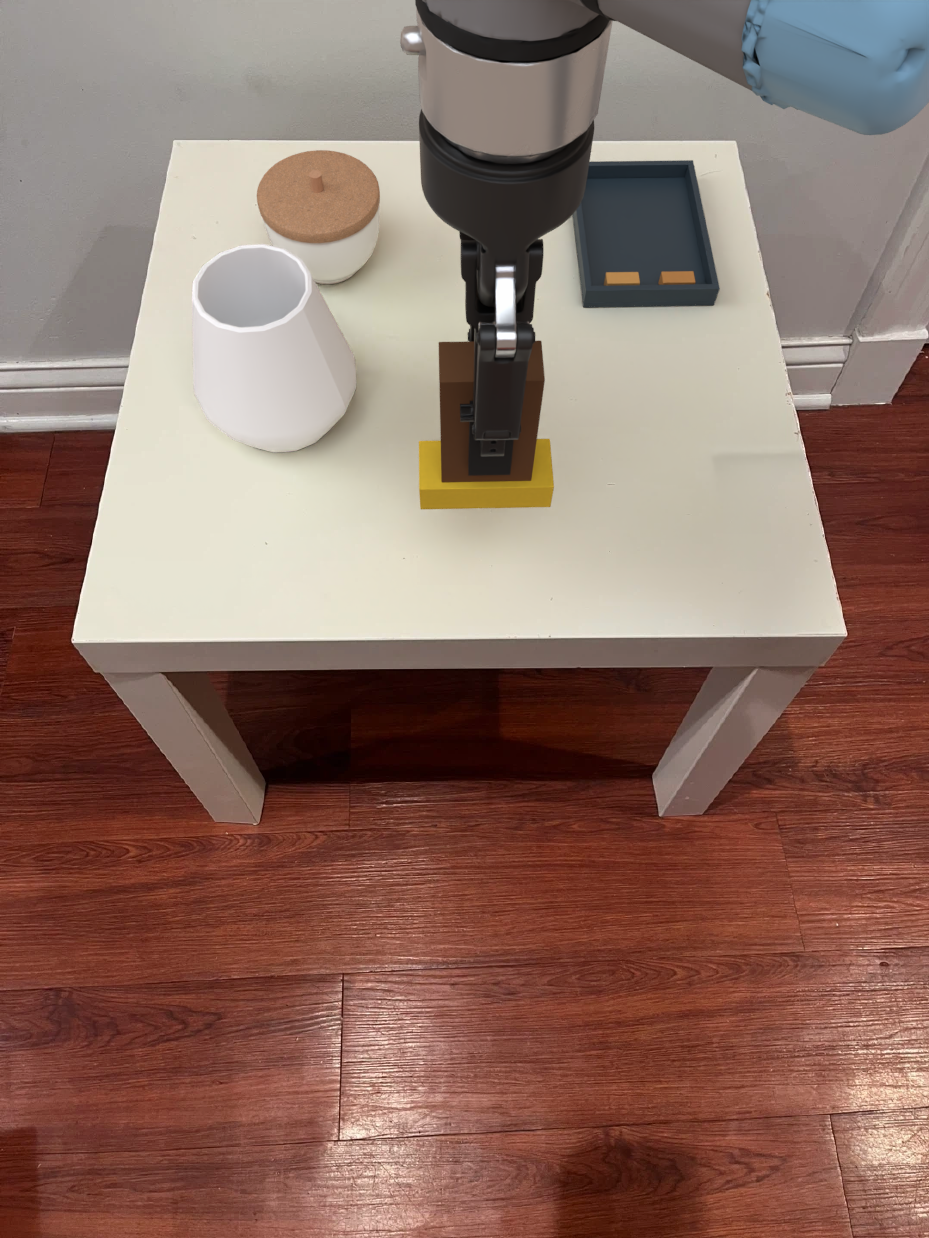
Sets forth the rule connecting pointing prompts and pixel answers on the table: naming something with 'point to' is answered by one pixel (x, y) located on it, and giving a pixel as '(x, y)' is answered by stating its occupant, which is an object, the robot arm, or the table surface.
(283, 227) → the trinket box
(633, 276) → the crumb
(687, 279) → the crumb
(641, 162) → the tray
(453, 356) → the brush
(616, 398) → the table surface
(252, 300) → the white vase
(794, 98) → the robot arm
